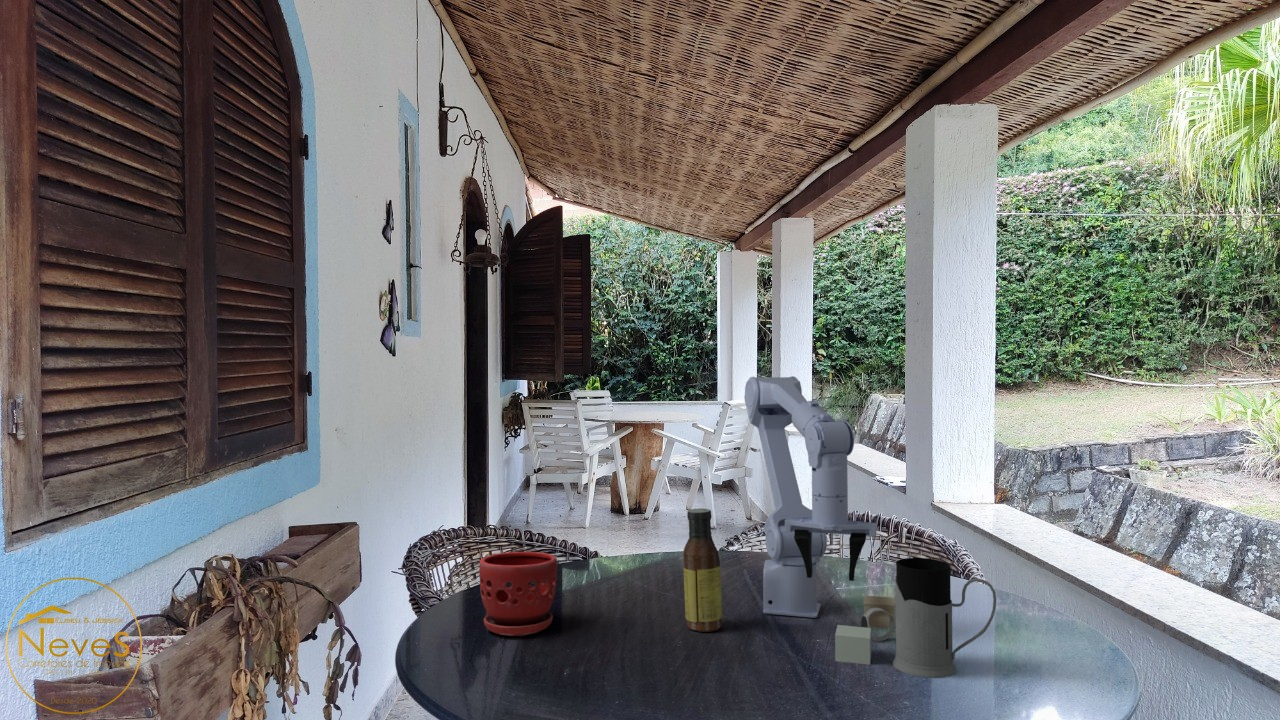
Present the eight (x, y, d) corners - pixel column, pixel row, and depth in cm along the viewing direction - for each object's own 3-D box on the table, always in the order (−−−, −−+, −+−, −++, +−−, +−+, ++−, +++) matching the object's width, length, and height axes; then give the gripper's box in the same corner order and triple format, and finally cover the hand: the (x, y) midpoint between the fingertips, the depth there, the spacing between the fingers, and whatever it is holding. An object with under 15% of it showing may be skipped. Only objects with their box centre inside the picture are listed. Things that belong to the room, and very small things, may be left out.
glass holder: (900, 652, 123) (899, 554, 123) (1000, 669, 116) (999, 565, 116) (886, 670, 116) (885, 566, 116) (993, 689, 109) (991, 579, 109)
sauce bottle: (727, 624, 137) (726, 508, 137) (715, 635, 131) (714, 514, 132) (691, 619, 140) (690, 505, 140) (678, 630, 134) (677, 511, 134)
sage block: (835, 661, 120) (835, 635, 120) (837, 650, 124) (837, 625, 124) (870, 665, 118) (869, 638, 118) (871, 654, 123) (870, 628, 123)
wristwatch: (860, 638, 130) (860, 607, 130) (889, 636, 131) (889, 605, 131) (867, 644, 127) (867, 612, 127) (897, 642, 128) (897, 611, 128)
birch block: (864, 627, 136) (864, 603, 136) (865, 618, 140) (864, 595, 141) (895, 629, 134) (895, 605, 134) (895, 620, 139) (894, 597, 139)
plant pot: (570, 631, 134) (570, 559, 134) (495, 645, 127) (495, 570, 127) (538, 611, 145) (538, 545, 145) (468, 624, 138) (468, 554, 139)
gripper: (781, 496, 130) (782, 580, 130) (875, 500, 125) (876, 587, 125) (787, 490, 136) (788, 570, 136) (876, 493, 132) (877, 576, 132)
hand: (830, 577), depth 131 cm, fingers open, 6 cm apart
